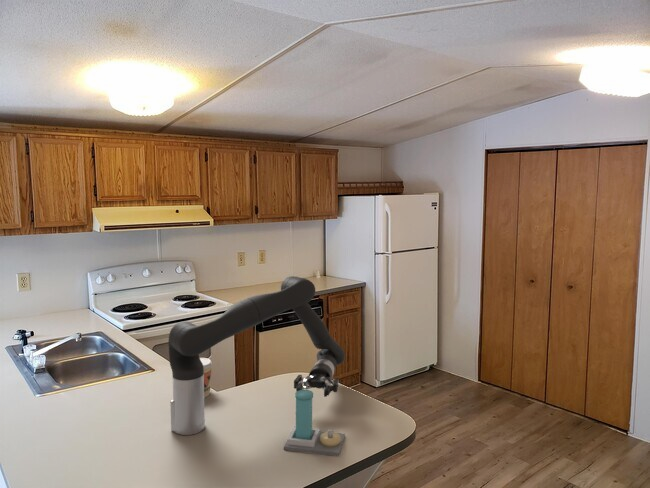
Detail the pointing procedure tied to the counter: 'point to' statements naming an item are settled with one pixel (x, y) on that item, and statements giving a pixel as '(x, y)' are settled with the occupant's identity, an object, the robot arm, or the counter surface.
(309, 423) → the lidded tumbler
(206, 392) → the coffee cup
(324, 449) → the housing
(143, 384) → the counter surface
